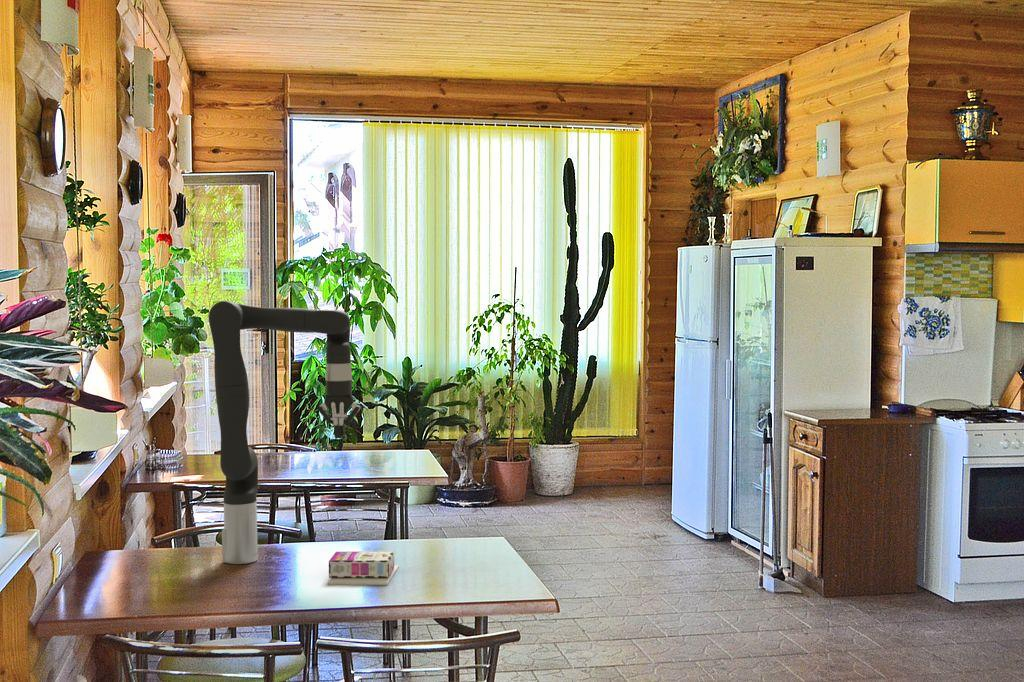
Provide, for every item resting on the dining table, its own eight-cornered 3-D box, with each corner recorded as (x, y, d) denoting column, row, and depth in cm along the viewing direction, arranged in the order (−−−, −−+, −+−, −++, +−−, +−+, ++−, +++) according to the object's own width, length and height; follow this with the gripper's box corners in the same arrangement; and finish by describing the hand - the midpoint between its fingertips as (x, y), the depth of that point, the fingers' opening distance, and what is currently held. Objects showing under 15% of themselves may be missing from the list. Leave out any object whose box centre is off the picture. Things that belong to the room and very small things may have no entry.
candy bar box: (328, 579, 291) (389, 578, 290) (327, 560, 291) (388, 560, 290) (336, 568, 302) (395, 568, 302) (336, 551, 302) (394, 550, 301)
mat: (327, 584, 288) (327, 582, 288) (343, 566, 306) (343, 564, 306) (387, 585, 287) (387, 583, 286) (399, 567, 304) (399, 565, 304)
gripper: (312, 379, 311) (313, 439, 312) (358, 379, 310) (359, 439, 311) (319, 377, 318) (320, 436, 319) (363, 377, 317) (364, 436, 318)
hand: (339, 437), depth 315 cm, fingers closed
